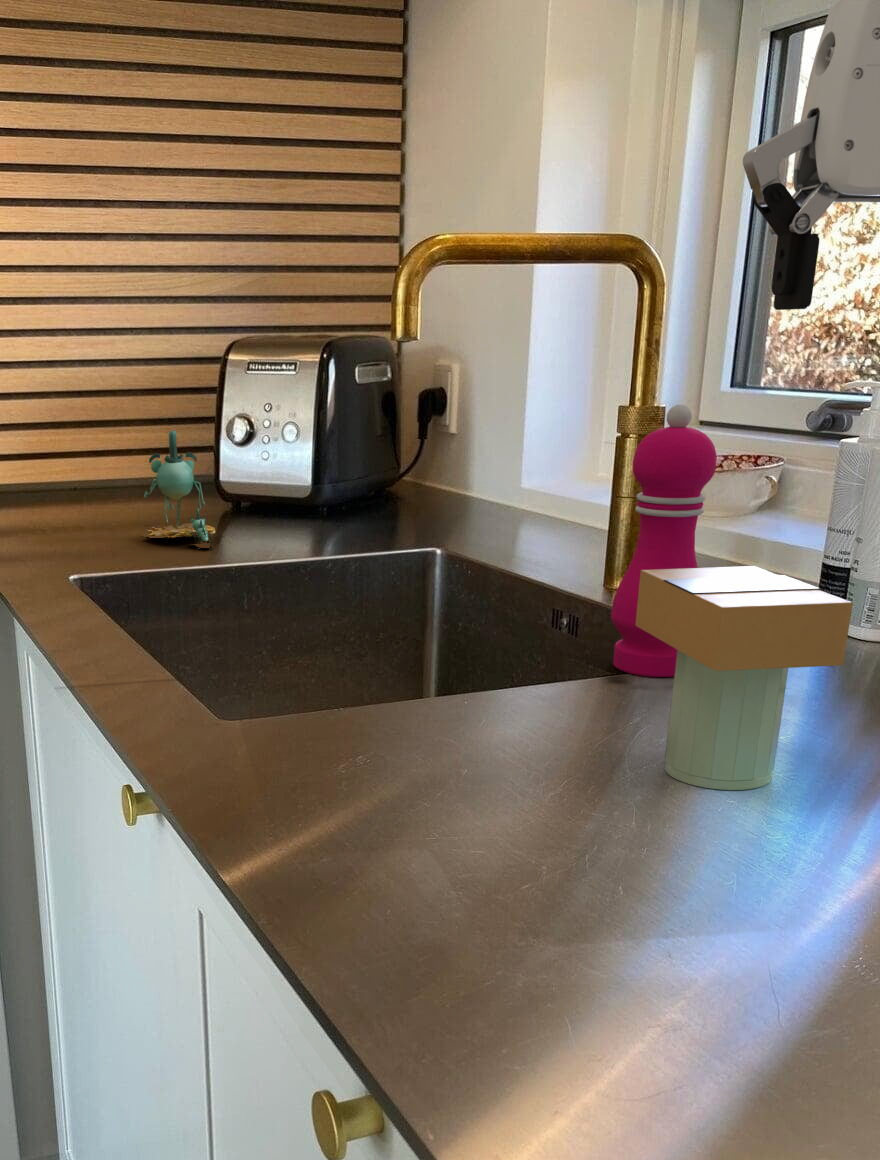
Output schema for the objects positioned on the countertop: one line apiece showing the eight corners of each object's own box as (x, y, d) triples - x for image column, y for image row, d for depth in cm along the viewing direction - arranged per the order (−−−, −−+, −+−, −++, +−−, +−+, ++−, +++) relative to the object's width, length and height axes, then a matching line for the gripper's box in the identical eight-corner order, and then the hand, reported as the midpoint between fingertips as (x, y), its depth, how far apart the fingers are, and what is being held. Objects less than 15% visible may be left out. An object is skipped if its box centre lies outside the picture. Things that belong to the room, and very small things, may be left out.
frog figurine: (151, 554, 149) (141, 428, 145) (135, 547, 166) (125, 434, 162) (228, 549, 151) (220, 425, 147) (204, 543, 168) (197, 431, 164)
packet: (634, 625, 76) (640, 568, 74) (748, 621, 77) (755, 564, 75) (714, 671, 66) (721, 606, 64) (843, 665, 66) (854, 601, 65)
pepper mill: (660, 652, 101) (686, 400, 94) (720, 673, 95) (753, 405, 88) (588, 661, 99) (609, 403, 92) (645, 683, 92) (673, 408, 85)
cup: (741, 753, 77) (758, 630, 74) (791, 787, 71) (811, 655, 69) (648, 758, 77) (661, 634, 74) (690, 792, 71) (706, 659, 68)
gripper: (804, -50, 62) (761, 309, 69) (1113, -44, 64) (1044, 305, 70) (736, -12, 69) (702, 311, 76) (1017, -7, 71) (961, 308, 77)
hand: (867, 308), depth 73 cm, fingers open, 9 cm apart
